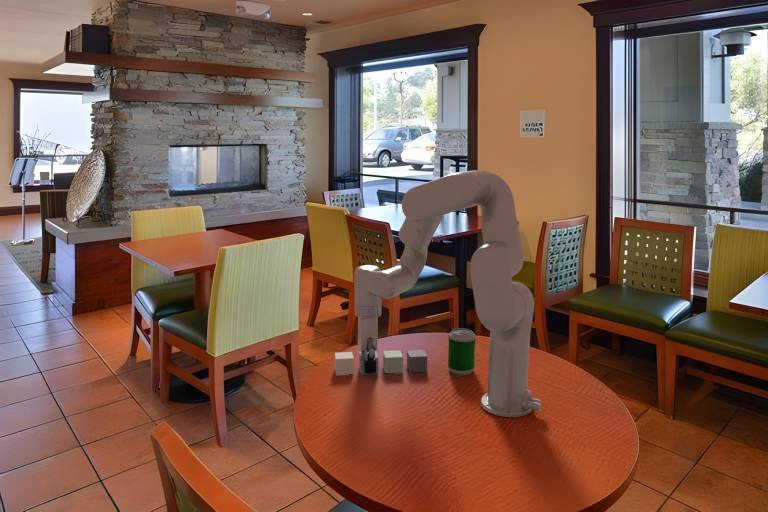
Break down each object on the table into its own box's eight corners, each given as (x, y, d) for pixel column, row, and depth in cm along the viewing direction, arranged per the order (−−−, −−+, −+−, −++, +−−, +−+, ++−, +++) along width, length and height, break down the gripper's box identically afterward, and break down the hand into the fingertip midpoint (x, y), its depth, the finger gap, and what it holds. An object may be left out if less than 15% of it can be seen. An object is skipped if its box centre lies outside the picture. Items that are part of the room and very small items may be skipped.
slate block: (376, 367, 166) (376, 351, 165) (378, 374, 161) (378, 357, 160) (359, 368, 165) (359, 351, 164) (360, 375, 160) (360, 358, 159)
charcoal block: (423, 365, 167) (423, 349, 166) (427, 372, 162) (427, 356, 161) (406, 366, 166) (407, 350, 165) (409, 373, 161) (409, 357, 160)
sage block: (400, 366, 166) (400, 350, 165) (402, 373, 161) (402, 356, 160) (383, 367, 166) (383, 351, 165) (385, 374, 161) (385, 357, 160)
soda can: (473, 377, 158) (475, 336, 156) (446, 375, 160) (447, 335, 157) (474, 367, 165) (476, 328, 163) (449, 365, 167) (450, 326, 164)
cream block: (352, 367, 165) (352, 351, 164) (353, 374, 160) (353, 358, 159) (335, 368, 165) (334, 352, 164) (335, 375, 160) (335, 359, 159)
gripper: (352, 301, 167) (353, 355, 171) (357, 319, 150) (357, 379, 154) (377, 300, 168) (378, 354, 172) (385, 318, 151) (385, 378, 155)
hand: (368, 366), depth 163 cm, fingers open, 9 cm apart
